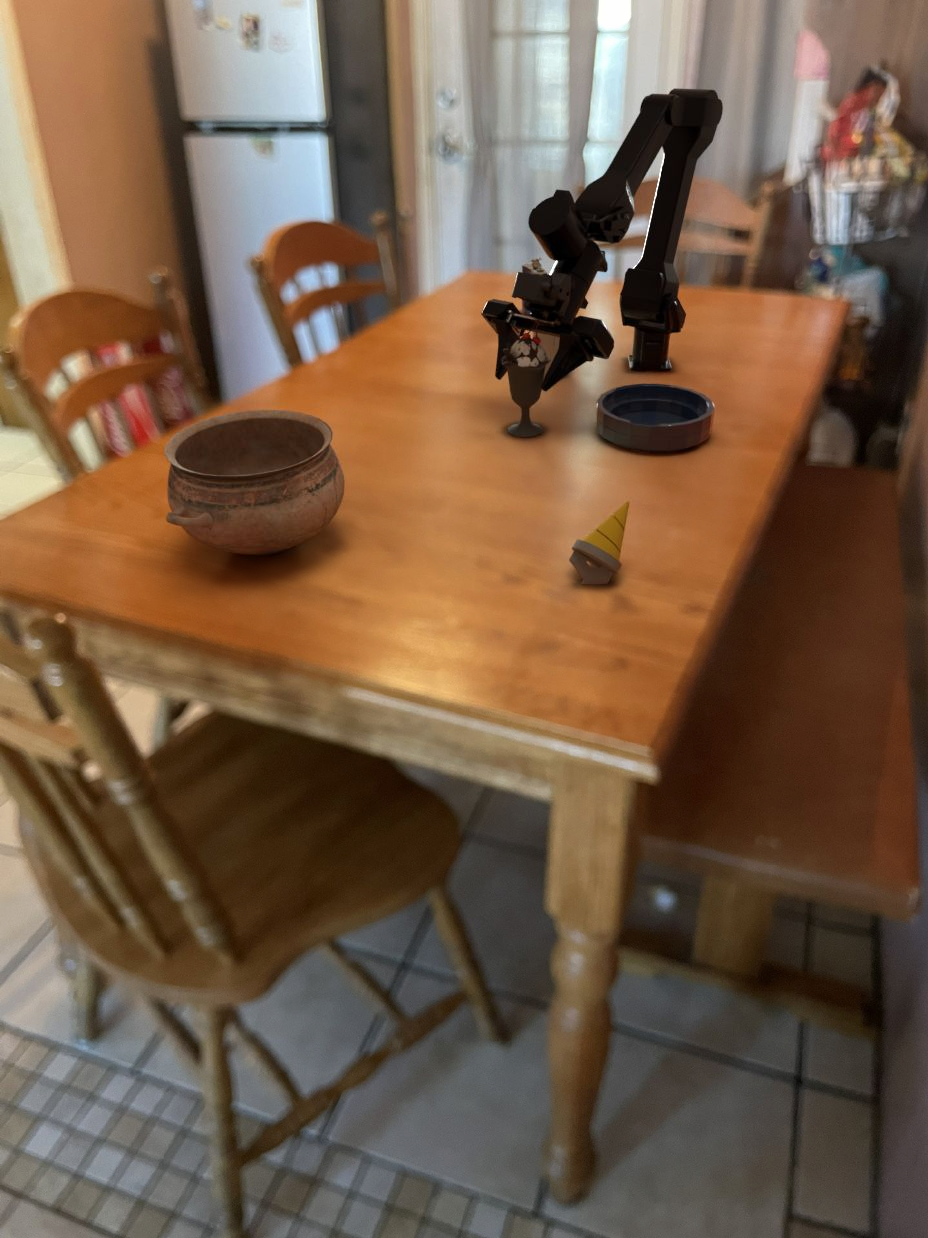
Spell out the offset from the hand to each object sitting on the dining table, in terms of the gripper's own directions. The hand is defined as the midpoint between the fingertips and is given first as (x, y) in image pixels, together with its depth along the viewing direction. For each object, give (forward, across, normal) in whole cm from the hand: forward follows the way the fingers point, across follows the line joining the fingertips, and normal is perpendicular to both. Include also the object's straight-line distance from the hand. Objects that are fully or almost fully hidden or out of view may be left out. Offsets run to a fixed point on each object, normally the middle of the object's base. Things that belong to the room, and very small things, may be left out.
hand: (520, 383), depth 123 cm
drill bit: (+22, +28, -12) cm, 38 cm away
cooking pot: (+35, -5, -24) cm, 42 cm away
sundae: (+4, 0, +6) cm, 7 cm away
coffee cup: (-11, -11, +21) cm, 26 cm away
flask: (-28, -31, +38) cm, 56 cm away
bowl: (-3, +15, +13) cm, 20 cm away
